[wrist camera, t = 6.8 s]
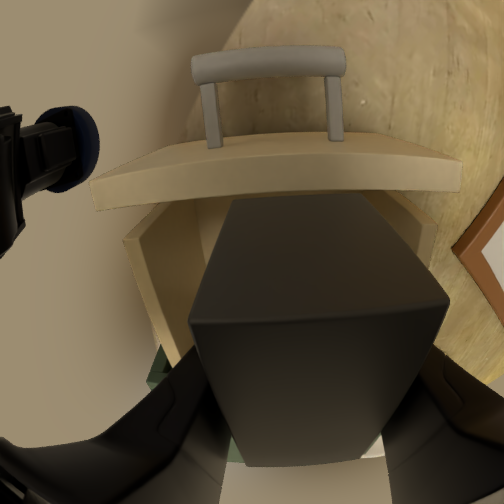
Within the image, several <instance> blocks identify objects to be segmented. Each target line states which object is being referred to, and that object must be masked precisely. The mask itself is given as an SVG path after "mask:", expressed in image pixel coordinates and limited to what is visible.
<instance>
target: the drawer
mask: <svg viewBox="0 0 504 504" xmlns="http://www.w3.org/2000/svg"><path fill="white" fill-rule="evenodd" d="M191 72H192V77H193V80H194V82H195V84H196V85H198V86H200V90H201V99H202V108H203V116H204V125H205V133H206V140H200V141H193V142H187V143H181V144H175V145H170V146H167V147H164V148H161V149H159V150H156V151H154V152H151V153H149V154H147V155H144V156H142V157H140V158H137V159H135V160H133V161H130V162H128V163H126V164H124V165H121V166H119V167H117V168H115V169H113V170H111V171H109V172H107V173H105V174H103V175H101V176H99V177H96V178H95V179H93V180H91V181H89V186H90V190H91V194H92V198H93V202H94V205H95V209H96V211H102V210H109V209H116V208H122V207H129V206H136V205H144V204H152V203H159V204H158V205H157V206H156V207H155V208H154V209H153V210H152V211H151V212H150V213H149V214H148V215H147V216H146V217H145V218H144V219H143V220H142V221H141V222H140V223H139V224H138V225H136V226H135V227H134V229H132V230H131V232H129V233H128V234H127V236H126V237H125V238H124V239H123V243H124V247H125V250H126V253H127V256H128V259H129V262H130V265H131V268H132V271H133V274H134V277H135V280H136V282H137V285H138V288H139V291H140V293H141V296H142V299H143V301H144V304H145V306H146V309H147V312H148V314H149V317H150V319H151V321H152V324H153V326H154V329H155V331H156V333H157V336H158V338H159V340H160V342H161V345H162V347H163V349H164V351H165V353H166V356H167V358H168V360H169V362H170V364H171V366H172V368H173V367H174V366H175V365H176V364H177V363H178V362H179V361H180V359H181V358H182V357H183V356H184V355H185V354H186V353H187V352H188V351H189V349H190V348H191V347H192V346H193V345H194V341H193V338H192V335H191V332H190V329H189V326H188V323H187V320H188V316H189V313H190V311H191V308H192V305H193V302H194V299H195V297H196V294H197V291H198V288H199V286H200V283H201V280H202V277H203V275H204V272H205V269H206V267H207V264H208V261H209V259H210V256H211V253H212V251H213V248H214V245H215V243H216V240H217V238H218V235H219V233H220V230H221V227H222V225H223V222H224V220H225V217H226V215H227V212H228V210H229V207H230V205H231V202H232V200H234V199H247V198H260V197H275V196H293V195H314V194H343V193H360V194H362V195H363V196H364V197H365V198H366V199H367V200H368V201H369V202H370V203H371V204H372V205H373V206H374V207H375V209H376V210H377V211H378V212H379V213H380V214H381V215H382V216H383V217H384V218H385V219H386V220H387V221H388V222H389V224H390V225H391V226H392V227H393V228H394V229H395V230H396V231H397V232H398V234H399V235H400V236H401V237H402V238H403V239H404V241H405V242H406V243H407V244H408V245H409V246H410V248H411V249H412V250H413V251H414V252H415V254H416V255H417V256H418V257H419V258H420V260H421V261H422V262H423V263H424V265H425V266H426V267H427V269H428V268H429V264H430V260H431V255H432V251H433V247H434V242H435V237H436V232H437V227H438V224H437V223H436V222H435V221H434V220H433V219H431V218H430V217H429V216H428V215H427V214H425V213H424V212H423V211H422V210H421V209H419V208H418V207H417V206H416V205H414V204H413V203H412V202H411V201H409V200H408V199H407V198H405V197H404V196H403V195H401V194H400V193H399V192H397V191H396V190H410V191H436V192H454V193H459V192H460V186H461V178H462V168H463V162H462V161H460V160H458V159H455V158H453V157H450V156H448V155H445V154H442V153H439V152H437V151H434V150H431V149H428V148H425V147H422V146H419V145H416V144H413V143H410V142H407V141H403V140H400V139H396V138H393V137H389V136H386V135H382V134H377V133H358V132H344V125H343V105H342V90H341V78H340V77H343V76H344V75H345V72H346V56H345V53H344V50H343V49H342V48H341V47H335V46H311V45H290V46H266V47H253V48H243V49H234V50H226V51H219V52H213V53H207V54H202V55H196V56H193V57H192V60H191ZM300 76H314V77H325V78H324V86H325V98H326V114H327V132H289V133H270V134H255V135H243V136H233V137H224V138H223V135H222V126H221V117H220V108H219V99H218V90H217V84H216V83H220V82H228V81H236V80H246V79H257V78H271V77H300ZM160 202H161V203H160Z"/></svg>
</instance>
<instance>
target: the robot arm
mask: <svg viewBox="0 0 504 504" xmlns="http://www.w3.org/2000/svg"><path fill="white" fill-rule="evenodd" d="M67 112H68V116H67ZM21 121H22V114H18V115H17V114H16V115H15V113H13V112H12V110H11V108H10V106H4V107H0V259H1V258H2V257H3V256H4V254H5V253H6V252H7V251H8V250H9V249H10V248H11V247H12V245H13V242H14V241H15V239H16V238H17V236H18V235H19V234H20V233H21V231H22V230H23V229H24V228H25V226H26V224H25V219H24V217H23V209H22V200H24V199H26V198H27V197H29V196H31V195H33V194H35V193H37V192H38V191H43V190H46V189H50V188H53V187H56V186H60V185H63V184H67V183H70V182H74V181H78V180H80V179H82V178H83V175H84V173H83V168H82V163H81V158H80V153H79V148H78V142H77V136H76V130H75V123H74V115H73V110H72V108H65V109H63V110H61V111H59V112H57V113H55V114H53V115H51V116H49V117H47V118H45V119H43V120H42V121H40V122H38V123H36V124H34V125H31V126H27V127H23V128H20V124H21ZM77 172H78V174H79V176H78V175H77ZM231 436H232V435H231V433H230V431H229V429H228V426H227V424H226V422H225V420H224V417H223V415H222V413H221V410H220V408H219V406H218V403H217V401H216V398H215V396H214V394H213V391H212V389H211V386H210V384H209V381H208V379H207V376H206V373H205V371H204V368H203V366H202V363H201V360H200V358H199V355H198V352H197V349H196V347H195V344H194V345H193V346H192V347H191V348H190V349H189V351H188V352H187V353H186V354H185V355H184V356H183V357H182V358H181V359H180V361H179V362H178V363H177V364H176V365H175V366H174V367H173V368H172V369H171V370H170V372H169V373H168V374H167V377H166V376H165V377H164V378H163V379H162V380H161V381H160V382H159V383H158V385H157V386H156V387H155V388H154V389H153V390H152V391H151V392H150V393H149V394H148V395H147V396H146V397H145V398H143V400H141V401H140V402H139V403H138V404H137V405H136V406H135V407H134V408H132V409H131V410H130V411H129V412H128V413H126V414H125V415H124V416H123V417H122V418H120V419H119V420H118V421H117V422H115V423H114V424H113V425H112V426H111V427H109V428H108V429H107V430H106V431H105V432H103V433H101V434H100V435H98V436H96V437H94V438H91V439H89V440H84V441H80V442H74V443H68V444H61V445H54V446H47V447H39V448H22V447H17V446H15V445H13V444H12V443H10V442H9V441H8V440H6V439H5V438H4V437H0V504H219V499H220V494H221V489H222V487H221V486H222V483H223V478H224V473H225V468H226V463H227V458H228V452H229V447H230V442H231ZM381 436H382V441H383V446H384V452H385V457H386V463H387V468H388V473H389V474H388V475H389V481H390V488H391V496H392V504H504V398H503V397H502V396H500V395H499V394H498V393H496V392H495V391H493V390H492V389H490V388H489V387H488V386H486V385H485V384H483V383H482V382H481V381H479V380H478V379H476V378H475V377H474V376H472V375H471V374H469V373H468V372H467V371H465V370H464V369H463V368H462V367H460V366H459V365H458V364H457V363H455V362H454V361H453V360H452V359H451V358H449V357H448V356H447V355H446V356H445V354H444V353H443V352H442V351H441V350H440V349H438V348H437V347H436V346H435V345H434V344H433V345H432V347H431V349H430V351H429V353H428V355H427V357H426V359H425V361H424V363H423V365H422V367H421V369H420V371H419V372H418V374H417V376H416V378H415V380H414V381H413V383H412V385H411V387H410V388H409V390H408V392H407V393H406V395H405V397H404V398H403V400H402V401H401V403H400V405H399V406H398V408H397V409H396V411H395V412H394V414H393V415H392V417H391V418H390V420H389V421H388V423H387V424H386V425H385V427H384V428H383V430H382V431H381Z"/></svg>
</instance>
